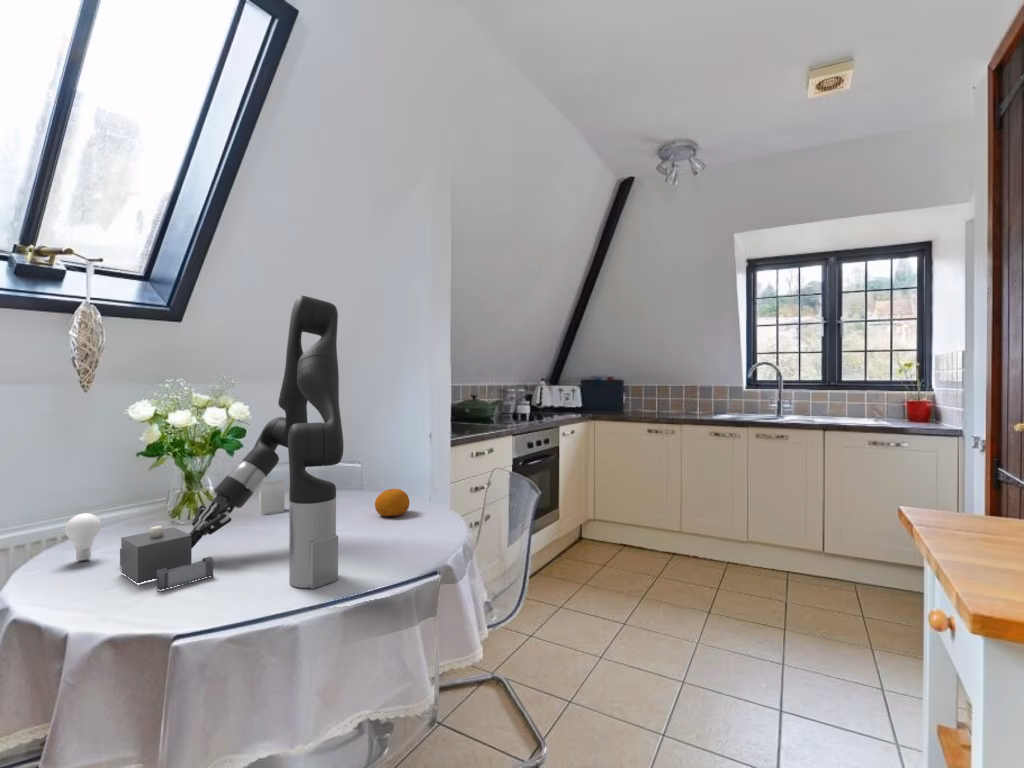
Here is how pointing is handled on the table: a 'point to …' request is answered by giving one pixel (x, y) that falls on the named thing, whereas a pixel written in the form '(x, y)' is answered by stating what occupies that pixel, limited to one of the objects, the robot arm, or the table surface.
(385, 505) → the fruit
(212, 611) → the table surface
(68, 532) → the lightbulb
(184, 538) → the plug block
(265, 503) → the grey rectangular block
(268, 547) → the table surface
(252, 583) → the table surface
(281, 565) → the table surface
